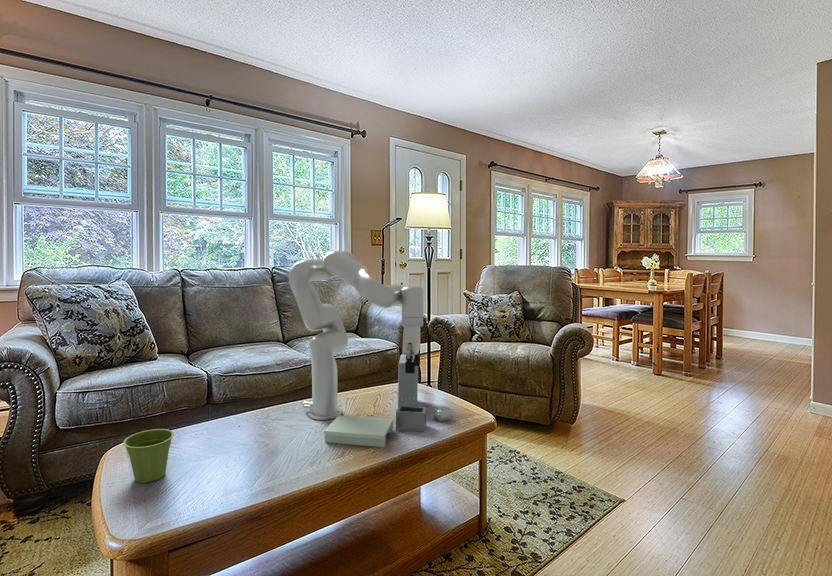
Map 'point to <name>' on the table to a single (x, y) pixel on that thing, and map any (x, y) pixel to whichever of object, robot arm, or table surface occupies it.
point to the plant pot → (149, 453)
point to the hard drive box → (407, 385)
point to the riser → (359, 430)
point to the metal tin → (442, 414)
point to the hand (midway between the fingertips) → (412, 369)
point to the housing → (411, 419)
